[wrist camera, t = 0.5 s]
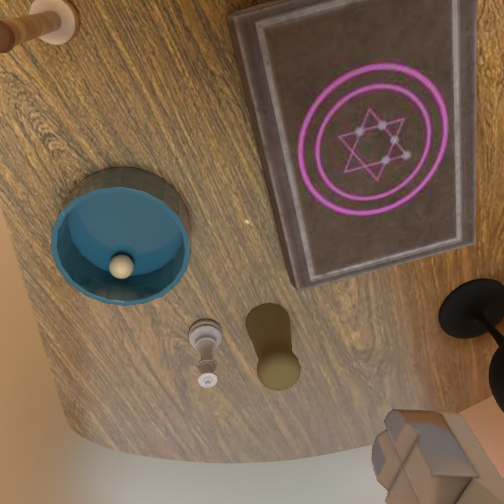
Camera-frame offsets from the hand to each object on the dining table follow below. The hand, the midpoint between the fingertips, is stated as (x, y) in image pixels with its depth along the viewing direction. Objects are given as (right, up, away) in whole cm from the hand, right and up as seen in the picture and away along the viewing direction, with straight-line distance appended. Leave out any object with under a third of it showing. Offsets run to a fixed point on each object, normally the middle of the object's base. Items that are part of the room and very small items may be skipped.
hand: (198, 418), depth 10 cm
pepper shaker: (+3, -6, +55) cm, 56 cm away
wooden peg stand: (-17, +25, +35) cm, 46 cm away
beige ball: (-14, +2, +46) cm, 48 cm away
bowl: (-13, +6, +46) cm, 48 cm away
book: (+13, +17, +44) cm, 48 cm away
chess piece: (-5, -7, +55) cm, 56 cm away
